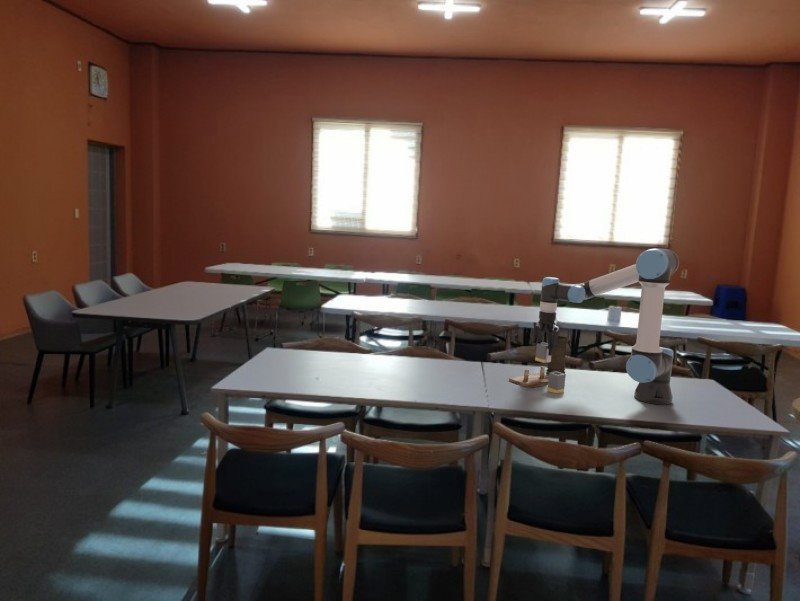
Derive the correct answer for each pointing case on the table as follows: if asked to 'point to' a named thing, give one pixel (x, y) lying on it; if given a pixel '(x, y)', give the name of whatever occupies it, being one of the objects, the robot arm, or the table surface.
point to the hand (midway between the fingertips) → (543, 360)
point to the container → (558, 356)
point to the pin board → (531, 379)
